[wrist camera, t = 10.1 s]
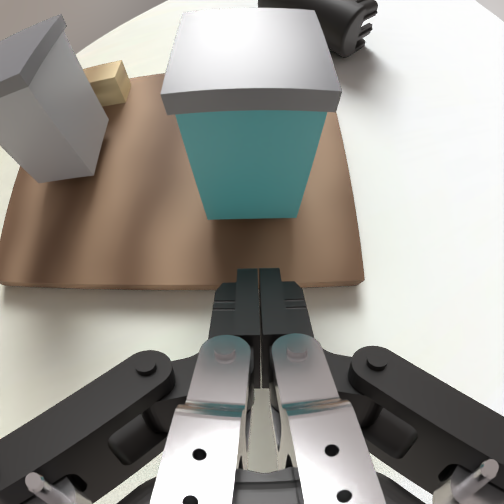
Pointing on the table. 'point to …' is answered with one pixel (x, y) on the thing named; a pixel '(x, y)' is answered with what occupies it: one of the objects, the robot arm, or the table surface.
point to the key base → (169, 212)
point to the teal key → (250, 106)
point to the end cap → (336, 20)
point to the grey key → (48, 105)
